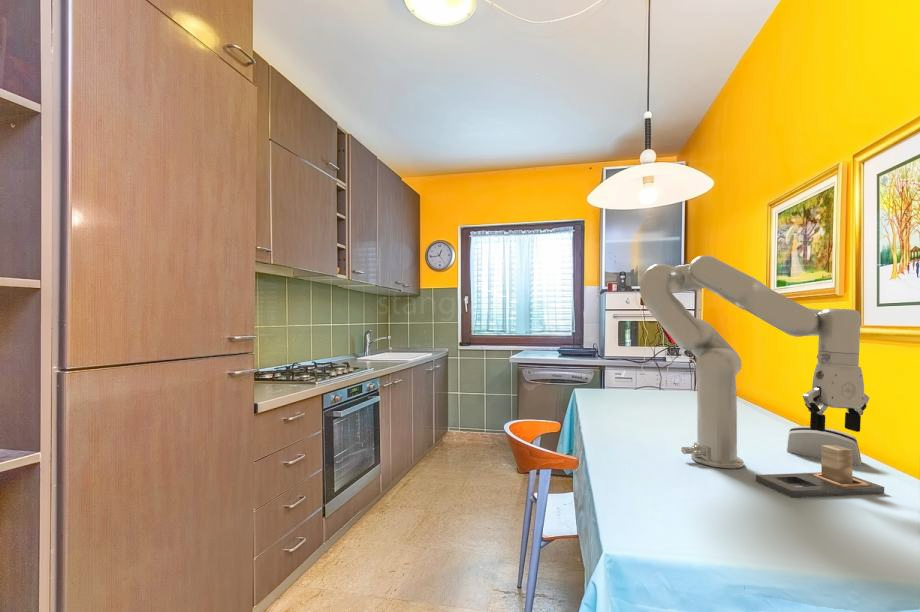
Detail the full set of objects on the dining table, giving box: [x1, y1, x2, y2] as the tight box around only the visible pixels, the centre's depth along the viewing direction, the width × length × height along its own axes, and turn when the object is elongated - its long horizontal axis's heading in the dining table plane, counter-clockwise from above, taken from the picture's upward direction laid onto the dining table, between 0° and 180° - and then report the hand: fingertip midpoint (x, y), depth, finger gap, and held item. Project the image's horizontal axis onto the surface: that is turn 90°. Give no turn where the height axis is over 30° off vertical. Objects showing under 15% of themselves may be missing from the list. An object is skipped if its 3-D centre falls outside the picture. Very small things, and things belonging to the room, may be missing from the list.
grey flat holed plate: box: [755, 471, 885, 499], centre depth 103 cm, size 24×10×2 cm, turn 98°
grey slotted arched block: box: [786, 425, 862, 466], centre depth 126 cm, size 17×5×10 cm, turn 45°
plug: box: [820, 445, 853, 484], centre depth 105 cm, size 4×4×9 cm
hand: (834, 430), depth 105 cm, fingers open, 9 cm apart
